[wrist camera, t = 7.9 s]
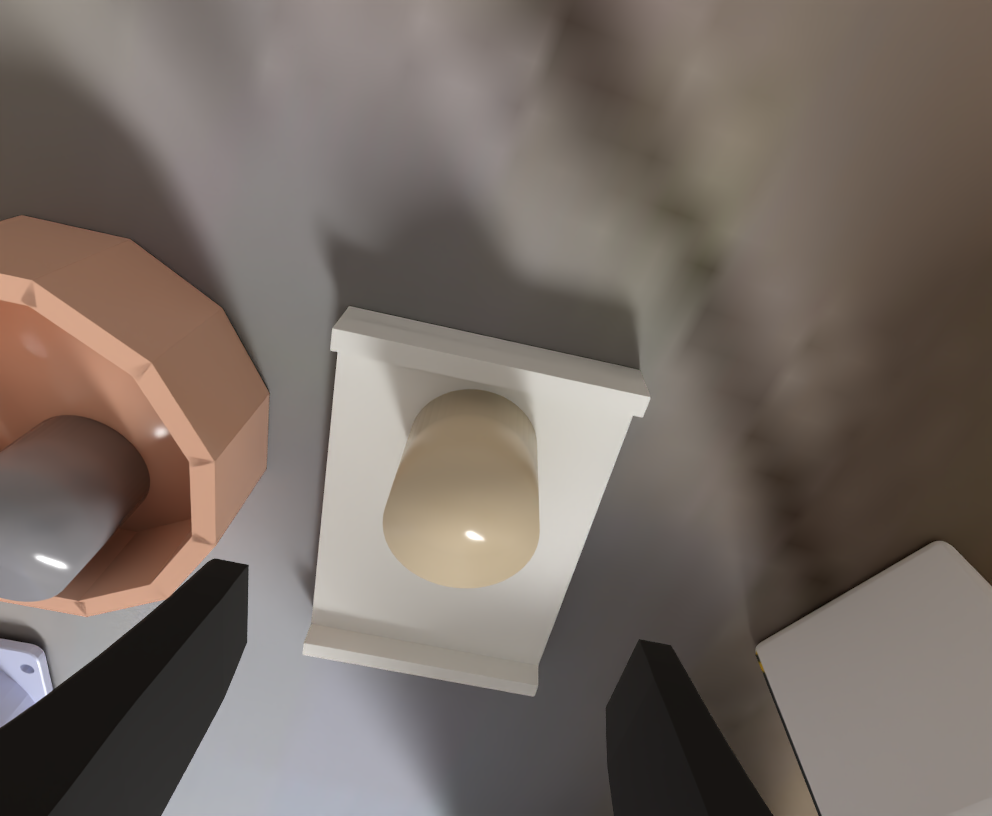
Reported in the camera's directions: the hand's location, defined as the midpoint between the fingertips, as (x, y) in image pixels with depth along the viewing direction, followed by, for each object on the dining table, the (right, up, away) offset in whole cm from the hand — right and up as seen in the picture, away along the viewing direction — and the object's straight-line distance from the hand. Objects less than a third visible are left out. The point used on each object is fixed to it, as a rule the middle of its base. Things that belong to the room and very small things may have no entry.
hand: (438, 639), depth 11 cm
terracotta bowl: (-11, +5, +7) cm, 13 cm away
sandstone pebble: (0, +3, +6) cm, 7 cm away
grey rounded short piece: (-11, +3, +7) cm, 13 cm away
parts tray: (0, +1, +8) cm, 8 cm away
